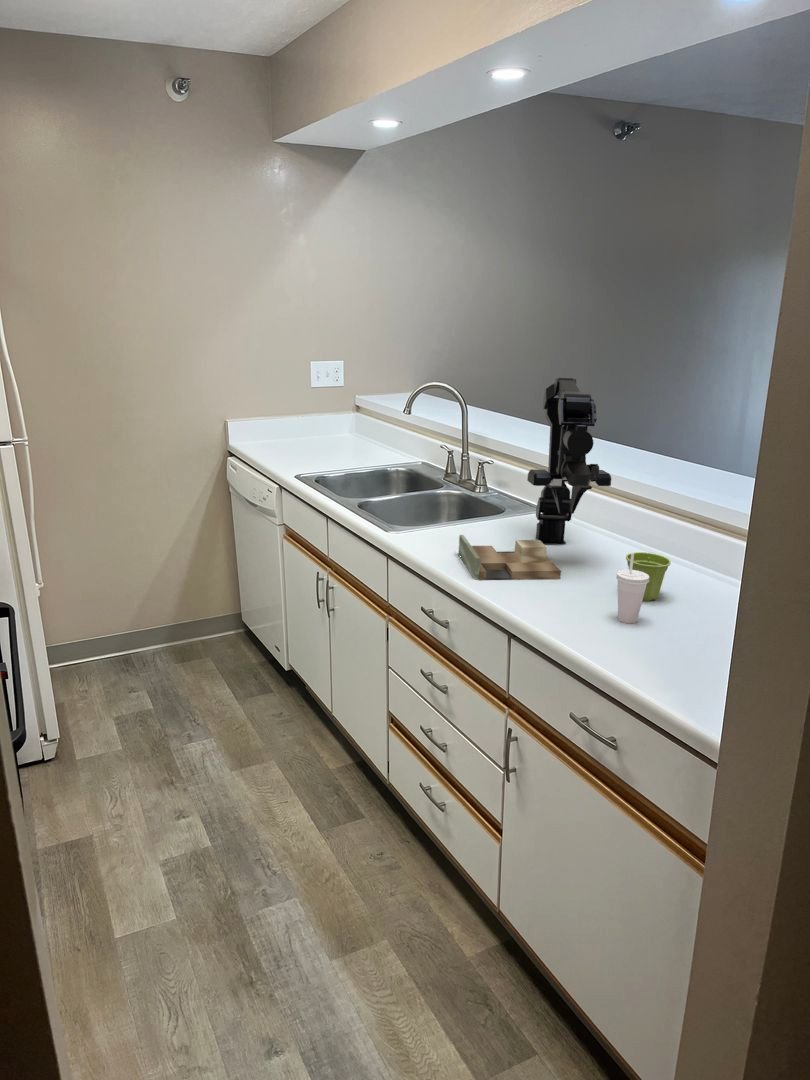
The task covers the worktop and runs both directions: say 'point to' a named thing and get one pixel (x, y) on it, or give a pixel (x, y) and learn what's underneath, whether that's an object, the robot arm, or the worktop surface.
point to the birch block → (530, 550)
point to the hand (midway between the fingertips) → (566, 513)
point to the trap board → (503, 564)
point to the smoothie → (630, 593)
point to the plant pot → (650, 571)
